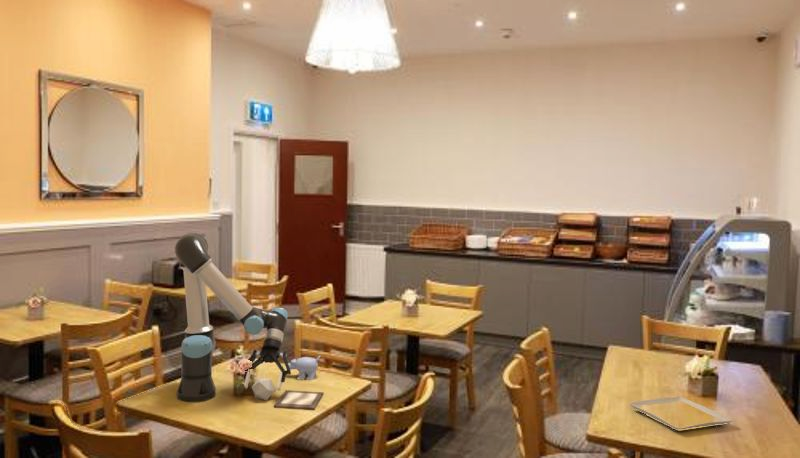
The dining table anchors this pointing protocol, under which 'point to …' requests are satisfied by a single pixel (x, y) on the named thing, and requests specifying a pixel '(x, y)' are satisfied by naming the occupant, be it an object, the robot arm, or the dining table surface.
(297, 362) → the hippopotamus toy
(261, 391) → the die
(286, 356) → the robot arm
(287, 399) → the picture frame
